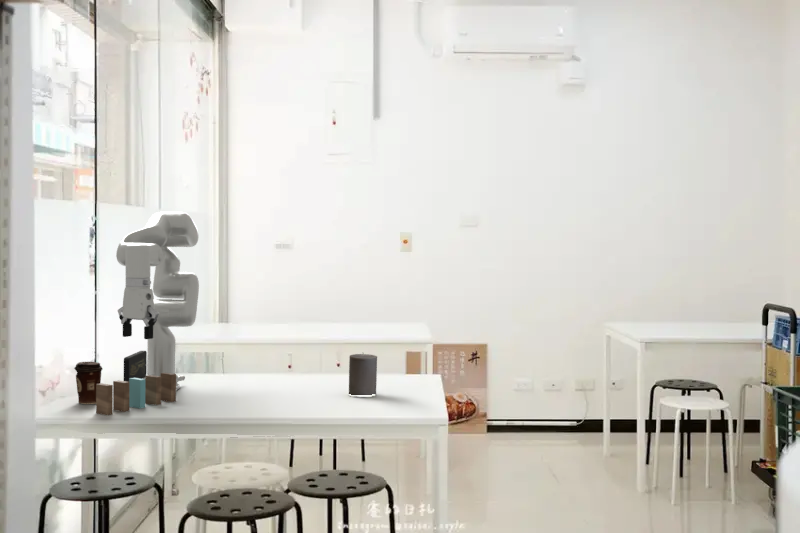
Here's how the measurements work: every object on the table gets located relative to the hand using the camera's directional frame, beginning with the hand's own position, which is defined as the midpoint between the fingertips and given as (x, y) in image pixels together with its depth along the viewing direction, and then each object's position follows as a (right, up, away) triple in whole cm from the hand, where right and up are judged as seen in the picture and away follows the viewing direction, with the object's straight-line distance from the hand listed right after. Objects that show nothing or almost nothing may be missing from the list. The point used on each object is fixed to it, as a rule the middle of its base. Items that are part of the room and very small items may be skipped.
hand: (137, 337), depth 282 cm
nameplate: (-16, -20, +50) cm, 56 cm away
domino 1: (-4, -22, -5) cm, 23 cm away
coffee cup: (-18, -22, +7) cm, 29 cm away
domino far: (-7, -22, -10) cm, 26 cm away
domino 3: (+3, -22, +6) cm, 23 cm away
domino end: (+7, -22, +12) cm, 26 cm away
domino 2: (0, -22, +1) cm, 22 cm away
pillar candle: (+70, -22, +27) cm, 78 cm away
